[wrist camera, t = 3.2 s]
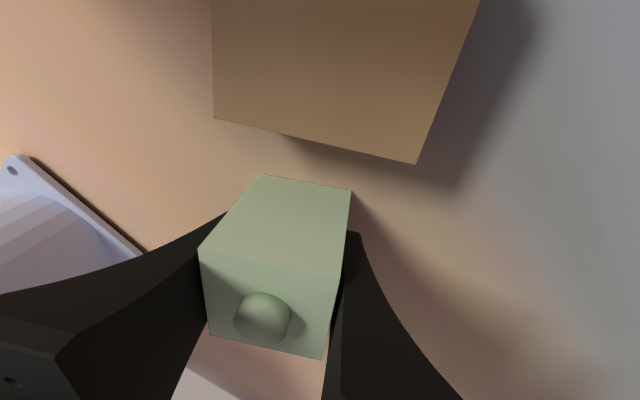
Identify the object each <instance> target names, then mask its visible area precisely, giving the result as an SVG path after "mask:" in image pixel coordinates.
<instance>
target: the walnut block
mask: <svg viewBox="0 0 640 400" xmlns="http://www.w3.org/2000/svg"><path fill="white" fill-rule="evenodd" d="M480 2H481V0H212V42H213V91H214V118H216V119H221V120H225V121H229V122H233V123H238V124H242V125H246V126H251V127H255V128H259V129H263V130H268V131H272V132H276V133H280V134H285V135H289V136H293V137H298V138H302V139H306V140H310V141H315V142H319V143H323V144H328V145H332V146H336V147H340V148H345V149H349V150H353V151H358V152H362V153H366V154H370V155H375V156H379V157H383V158H387V159H392V160H396V161H400V162H405V163H409V164H413V165H416V162H417V160H418V157H419V155H420V152H421V150H422V147H423V145H424V142H425V140H426V137H427V135H428V132H429V130H430V127H431V125H432V122H433V120H434V117H435V115H436V112H437V110H438V107H439V105H440V102H441V99H442V97H443V94H444V92H445V89H446V87H447V84H448V82H449V79H450V77H451V74H452V72H453V69H454V67H455V64H456V62H457V59H458V57H459V54H460V52H461V49H462V47H463V44H464V42H465V39H466V37H467V34H468V32H469V29H470V27H471V24H472V22H473V19H474V17H475V14H476V12H477V9H478V7H479V4H480Z"/></svg>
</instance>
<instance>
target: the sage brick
mask: <svg viewBox="0 0 640 400" xmlns="http://www.w3.org/2000/svg"><path fill="white" fill-rule="evenodd" d="M350 197H351V191H350V190H345V189H340V188H334V187H329V186H323V185H318V184H313V183H307V182H302V181H297V180H291V179H286V178H281V177H275V176H270V175H264V174H259V175H258V177H257V178H256V179H255V180H254V181H253V183H252V184H251V185H250V186H249V187H248V188H247V190H246V191H245V192H244V193H243V194H242V196H241V197H240V198H239V199H238V200H237V202H236V203H235V204H234V205H233V206H232V208H231V209H230V210H229V211H228V212H227V214H226V215H225V216H224V217H223V218H222V220H221V221H220V222H219V223H218V224H217V226H216V227H215V228H214V229H213V230H212V231H211V233H210V234H209V235H208V236H207V237H206V239H205V240H204V241H203V242H202V243H201V245H200V246H199V247H198V248H197V249H198V256H199V264H200V271H201V278H202V285H203V292H204V299H205V306H206V313H207V320H208V327H209V334H210V335H213V336H217V337H222V338H226V339H230V340H234V341H239V342H243V343H247V344H252V345H256V346H260V347H264V348H269V349H273V350H277V351H281V352H286V353H290V354H294V355H299V356H303V357H307V358H311V359H316V360H320V361H321V359H322V355H323V351H324V346H325V342H326V338H327V333H328V329H329V325H330V320H331V316H332V312H333V307H334V303H335V299H336V294H337V290H338V286H339V281H340V276H341V268H342V260H343V252H344V244H345V236H346V229H347V221H348V213H349V205H350Z"/></svg>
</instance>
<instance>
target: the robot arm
mask: <svg viewBox="0 0 640 400" xmlns="http://www.w3.org/2000/svg"><path fill="white" fill-rule="evenodd" d="M227 212H228V211H227ZM227 212H225V213H224V214H222V215H220V216H218V217H217V218H215V219H213V220H211V221H210V222H208V223H206V224H204V225H203V226H201V227H199V228H197V229H195V230H194V231H192V232H190V233H188V234H186V235H184V236H182V237H180V238H178V239H176V240H174V241H172V242H170V243H168V244H166V245H164V246H161V247H159V248H157V249H155V250H152V251H150V252H147V253H145V254H143V253H142V252H141V251H140V250H139V249H137V248H136V247H135V246H134V245H133V244H131V243H130V242H129V241H128V240H127V239H125V238H124V237H123V236H122V235H121V234H119V233H118V232H117V231H116V230H115V229H113V228H112V227H111V226H110V225H109V224H107V223H106V222H105V221H104V220H103V219H101V218H100V217H99V216H98V215H97V214H95V213H94V212H93V211H92V210H90V209H89V208H88V207H87V206H86V205H84V204H83V203H82V202H81V201H80V200H78V199H77V198H76V197H75V196H74V195H72V194H71V193H70V192H69V191H68V190H66V189H65V188H64V187H63V186H62V185H60V184H59V183H58V182H57V181H56V180H54V179H53V178H52V177H51V176H50V175H48V174H47V173H46V172H45V171H44V170H42V169H41V168H40V167H39V166H38V165H36V164H35V163H34V162H33V161H32V160H30V159H29V158H28V157H26V156H25V155H23V154H20V153H15V154H12V155H9V156H8V157H7V158H6V160H5V161H4V163H3V165H2V167H1V168H0V400H171V397H172V395H173V393H174V391H175V389H176V386H177V384H178V382H179V379H180V377H181V375H182V373H183V371H184V368H185V366H186V364H187V362H188V360H189V358H190V355H191V353H192V351H193V349H194V347H195V345H196V343H197V341H198V339H199V337H200V335H201V333H202V331H203V329H204V326H205V324H206V323H207V321H208V320H207V313H206V306H205V299H204V292H203V285H202V278H201V271H200V264H199V256H198V249H197V248H198V247H199V246H200V245H201V243H202V242H203V241H204V240H205V239H206V237H207V236H208V235H209V234H210V233H211V231H212V230H213V229H214V228H215V227H216V226H217V224H218V223H219V222H220V221H221V220H222V218H223V217H224V216H225V215H226V214H227ZM321 400H463V399H462V398H461V396H460V395H459V394H458V393H457V392H456V391H455V390H454V389H453V388H452V387H451V386H450V384H449V383H448V382H447V381H446V380H445V379H444V378H443V377H442V376H441V375H440V373H439V372H438V371H437V370H436V369H435V368H434V367H433V365H432V364H431V363H430V362H429V360H428V359H427V358H426V357H425V355H424V354H423V353H422V352H421V350H420V349H419V347H418V346H417V345H416V343H415V342H414V341H413V339H412V338H411V337H410V335H409V334H408V332H407V331H406V330H405V328H404V327H403V325H402V324H401V322H400V321H399V319H398V318H397V316H396V314H395V313H394V311H393V310H392V308H391V306H390V305H389V303H388V301H387V299H386V297H385V296H384V294H383V292H382V290H381V288H380V286H379V284H378V282H377V280H376V277H375V275H374V273H373V271H372V268H371V266H370V263H369V261H368V258H367V255H366V252H365V249H364V246H363V243H362V239H361V235H360V234H359V233H358V232H353V231H348V230H346V236H345V244H344V252H343V260H342V268H341V276H340V281H339V286H338V290H337V294H336V299H335V303H334V307H333V312H332V316H331V320H330V337H329V349H328V357H327V364H326V370H325V377H324V384H323V390H322V397H321Z"/></svg>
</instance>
